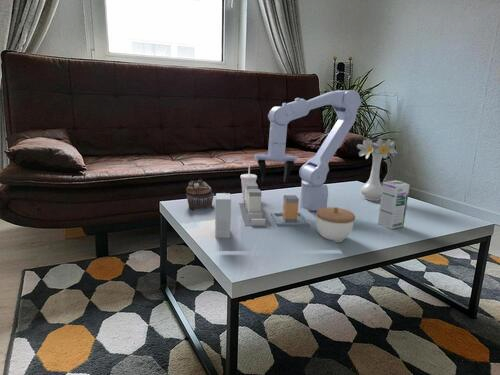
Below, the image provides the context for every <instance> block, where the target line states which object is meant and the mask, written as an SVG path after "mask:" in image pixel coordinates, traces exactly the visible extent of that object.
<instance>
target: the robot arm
mask: <svg viewBox="0 0 500 375" xmlns="http://www.w3.org/2000/svg"><path fill="white" fill-rule="evenodd" d="M327 105H331V106H332V108H333V109H334V112H335V114H336V115H337V121H336V122H335V124H334V125H333V126H332V129H331V130H330V131H329V133H328V135H327V136H326V138H325V139H324V141H323V142H322V144H321V146H320V147H319V148H318V150H317V152H316V153H315V155H314V156H313V157H310V158H309V159H308V160H307V161H306V163H304V164H303V165H302V166H301V167H300V168H299V171H298V173H299V177H300V178H301V184H300V185H301V188H300V198H299V206H300V207H301V208H303V209H307V210H308V211H316V212H317V210H318V209H320V208H325V207H327V206H328V197H329V188H328V186H327V184H326V183H325V182H326V180H327V176H328V173H329V171H330V167H329V162H330V161H331V160H332V159H333V156H335V154H336V152H337V150H338V149H339V148H340V146H341V145H342V142H344V139H345V138H346V136H347V134H349V131H350V130H351V128H352V126H353V125H354V124H355V121H356V117H357V114H358V109H359V108H360V106H361V105H362V101H361V96H360V93H359V92H358V91H357V90H355V89H350V90H348V89H347V90H341V89H336V90H332V91H331V90H330V91H328V92H326V93H325V92H324V93H323V94H321V95H318V96H316V97H313V98H310V99H308V100H306V99H304V98H300V97H296V98H295V99H294V101H291V102H287V103H286V102H283V103H282V105H281V106H273V107H272V108H271V109H270V110H269V112H268V114H267V118H268V120H269V122H270V124H269V137H268V150H267V154H265V153H264V154H263V153H262V154H254V161H255V162H257V165H258V167H259V171H260V175H261V181H262V183H265V182H266V168H267V163H266V162H283V163H284V171H283V172H284V173H283V183H284V184H287V182H288V179H289V176H290V174H291V172H292V170H293V169H294V167H295V166H296V165H295V163H297V164H298V156H296V155H286V143H287V132H288V124H289V123H290V122H291V121H294V120H296V119H299V118H300V119H301V118H302V117H306V116H307V115H308V114H309V113H310V111H311V110H314V109H319V108H320V107H324V106H327ZM324 183H325V184H324Z"/></svg>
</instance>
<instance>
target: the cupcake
mask: <svg viewBox="0 0 500 375" xmlns="http://www.w3.org/2000/svg"><path fill="white" fill-rule="evenodd" d="M185 191H186V193H185V196H186V200H187V204H188V208H189V209H190V210H192V211H195V209H197V210H198V209H199V210H203V209H209V208H211V207H212V206H213V200H214V197H215V194H214V193H213V192H212V187H211V186H209V184H208V183H206V181H204V180H203V179H202V178H199V179H197V180H192V179H191V180H189V182H188V186H187V187H186V189H185Z"/></svg>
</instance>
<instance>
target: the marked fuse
mask: <svg viewBox="0 0 500 375" xmlns="http://www.w3.org/2000/svg"><path fill="white" fill-rule="evenodd" d="M282 204H283V205H282V213H283V215H281V216H282V217H281V218H282V220H283V223H298V217H299V215H298V213H299V205H300V198H299V197H298V196H297V195H296V194H294V195H293V194H292V195H291V194H284V195H283V203H282Z"/></svg>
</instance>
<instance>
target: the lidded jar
mask: <svg viewBox="0 0 500 375" xmlns="http://www.w3.org/2000/svg"><path fill="white" fill-rule="evenodd" d="M315 216H316V217H315V218H316V220H315V224H316V229H317V232H318V233H319V234H320V236H321V237H322V238H324V239H327V240H330V241H334V242H335V243H341V242H344V241H345V239H347V238H348V237H349V236H350V235H351V233H352V231H353V228H354V223H355V218H356V215H355V212H354V213H353V212H352V211H351V210H347V209H344V208H340V207H337V206H334V207H331V206H329V207H325V208H320V209H318V210H317V211H316V214H315Z"/></svg>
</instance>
